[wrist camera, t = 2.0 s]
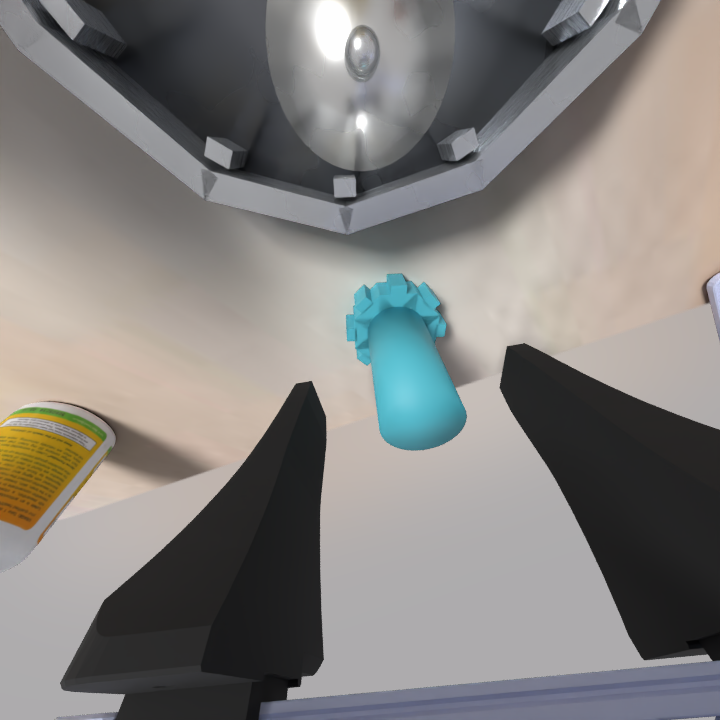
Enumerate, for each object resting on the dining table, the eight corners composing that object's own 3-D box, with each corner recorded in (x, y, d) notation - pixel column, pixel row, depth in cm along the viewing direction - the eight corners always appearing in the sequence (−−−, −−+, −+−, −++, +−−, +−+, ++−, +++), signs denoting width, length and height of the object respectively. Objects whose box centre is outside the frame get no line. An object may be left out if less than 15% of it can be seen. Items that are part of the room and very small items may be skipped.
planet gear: (456, 315, 14) (526, 419, 9) (389, 368, 16) (413, 479, 11) (395, 252, 12) (438, 335, 7) (327, 321, 14) (317, 430, 9)
